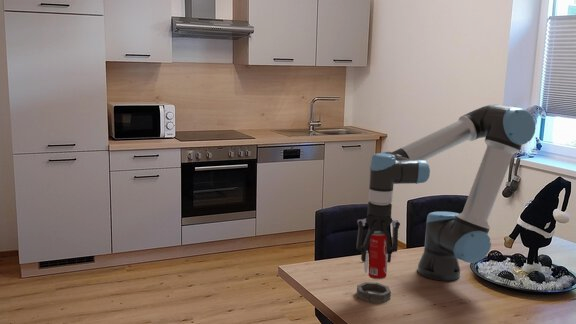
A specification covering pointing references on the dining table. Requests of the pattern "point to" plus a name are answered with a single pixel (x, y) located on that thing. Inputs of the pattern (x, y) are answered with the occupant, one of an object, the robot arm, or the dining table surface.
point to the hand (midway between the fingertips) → (375, 271)
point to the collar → (373, 292)
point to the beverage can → (377, 255)
